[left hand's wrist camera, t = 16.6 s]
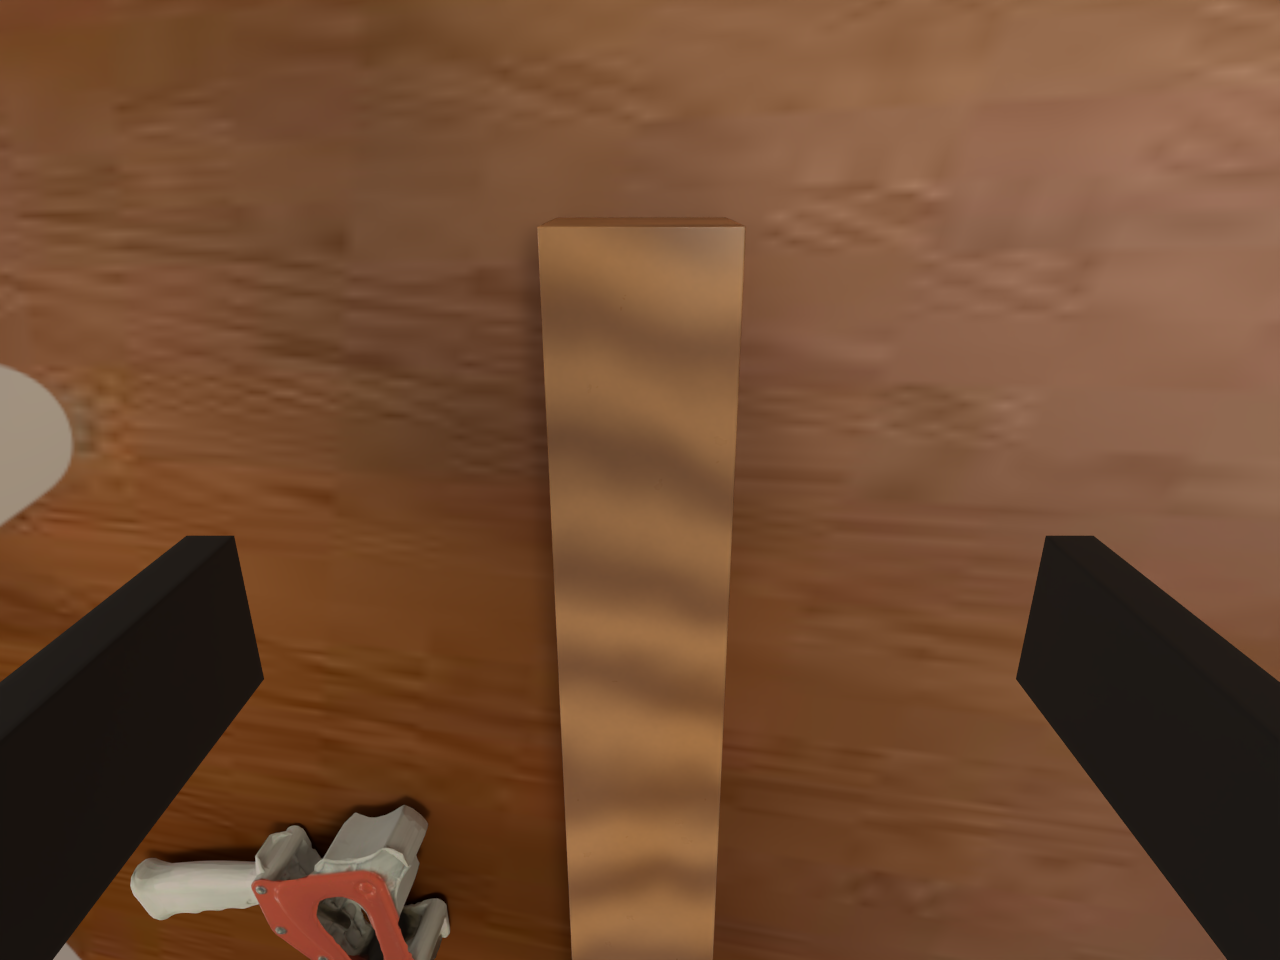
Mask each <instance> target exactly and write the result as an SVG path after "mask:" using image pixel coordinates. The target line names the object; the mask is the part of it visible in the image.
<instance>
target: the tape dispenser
mask: <svg viewBox="0 0 1280 960" xmlns="http://www.w3.org/2000/svg"><path fill="white" fill-rule="evenodd" d="M427 827H428V823H427V821H426V820H425V819H424V818H423V816H422V815H421V814H419V813H418V812H417V811H416V810H414V809H413V808H411V807H409V806H406V805H402V806H401V807H399V808H398V809H396V810H394V811H393V812H391V813H389V814H387V815H384V816H380V817H367V816H364V815H361V814H358V813H354V814H353V815H352V816H351V817H350V818H349V819H348V820H347V821H346V822H345V823H344V824H343V826H342V828H341V829H340V831H339V832H338V834H337V836H336V837H335V839H334V841H333V842H332V844H331V846H330V847H329V849H328V851H327V853H326V854H325V856H324V858H323V859H322V858H321V857H320V856H319V854H318V853H317V851H316V850H315V849H313V848H312V845H311V841H310V840H309V838H308V836H307V834H306V832H305V831H304V829H303V828H301V827H299V826H295V825H294V826H290V827H288V829H287V830H286V831H284V832H277V833H274V834H271V835H269V837H268V838H267V840H266V841H265V843H264V844H263V845H262V847H261V848H260V850H259V851H258V853H257V854H256V856H255V862H249V861H226V860H214V861H192V862H180V863H169V862H165V861H162V860H159V859H157V858H149V859H145V860H144V861H143V862H142V863H140V864H139V865H138V866H137V867H136V869H135V871H134V873H133V875H132V877H131V889H132V892H133V894H134V896H135V897H136V898H137V899H138V900H139V902H140V903H141V904H142V905H143V907H144V908H145V909H146V911H147V912H148V913H149V914H150V915H151V916H152V917H153V918H155V919H158V920H164V919H167V918H169V917H170V916H172V915H174V914H177V913H199V912H202V911H205V910H216V911H219V910H223V909H226V908H242V909H245V908H247V907H250V906H253V905H257V904H259V905H260V907H261V909H262V911H263V913H264V915H265V917H266V919H267V921H268V923H269V925H270V927H271V929H272V930H273V931H274V933H275V934H277V935H278V936H279V937H281V938H282V939H284V940H285V941H286V942H288V943H289V944H290V945H292V946H293V947H294V948H296V949H297V950H299V951H300V952H301V953H303V954H304V955H305V956H307V957H308V958H310V959H311V960H434V959H435V958H436V955H437V952H438V950H439V947H440V943H441V940H442V937H445V938H446V937H447V936H448V935H449V934H450V926H449V919H448V913H447V905H446V904H445V902H444V901H442V900H440V899H438V898H432V899H428V900H424V901H422V902H417V903H416V904H410V905H405V906H404V904H405V902H406V899H407V897H408V895H409V892H410V890H411V887H412V885H413V882H414V880H415V877H416V874H417V870H418V866H419V861H418V859H417V856H416V854H417V852H418V850H419V848H420V845H421V843H422V841H423V839H424V836H425V834H426V831H427ZM361 908H362V909H363V910H364V911H365V912H366V913H367V916H368V918H369V920H370V923H369V922H367V921H366V920H365V918H364V917H363V913H362V912H361Z"/></svg>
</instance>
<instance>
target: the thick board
mask: <svg viewBox="0 0 1280 960" xmlns="http://www.w3.org/2000/svg"><path fill="white" fill-rule="evenodd" d="M537 233H538V254H539V275H540V296H541V317H542V339H543V360H544V381H545V402H546V423H547V444H548V465H549V486H550V507H551V528H552V549H553V570H554V591H555V612H556V633H557V654H558V675H559V696H560V717H561V738H562V759H563V780H564V801H565V822H566V843H567V864H568V885H569V906H570V928H571V949H572V960H713V943H714V921H715V899H716V877H717V855H718V833H719V811H720V788H721V766H722V744H723V722H724V700H725V678H726V655H727V633H728V611H729V589H730V567H731V545H732V523H733V500H734V478H735V456H736V434H737V412H738V390H739V368H740V345H741V323H742V301H743V279H744V257H745V235H746V226H744V225H741V224H739V223H737V222H735V221H732V220H730V219H728V218H556V219H553V220H551V221H549V222H547V223H545V224H543V225H540V226H538V227H537Z"/></svg>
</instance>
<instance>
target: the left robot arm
mask: <svg viewBox="0 0 1280 960" xmlns="http://www.w3.org/2000/svg"><path fill="white" fill-rule="evenodd" d="M263 680H264V677H263V672H262V667H261V662H260V658H259V653H258V648H257V643H256V639H255V634H254V629H253V624H252V619H251V615H250V610H249V605H248V600H247V596H246V591H245V586H244V581H243V576H242V572H241V567H240V562H239V557H238V552H237V548H236V543H235V538H234V536H186V537H185V538H183V539H182V540H181V541H179V542H178V543H177V544H176V545H174V546H173V547H172V548H171V549H169V550H168V551H167V552H165V553H164V554H163V555H162V556H160V557H159V558H158V559H157V560H155V561H154V562H153V563H151V564H150V565H149V566H148V567H146V568H145V569H144V570H143V571H141V572H140V573H139V574H137V575H136V576H135V577H134V578H132V579H131V580H130V581H129V582H127V583H126V584H125V585H123V586H122V587H121V588H120V589H118V590H117V591H116V592H115V593H113V594H112V595H111V596H109V597H108V598H107V599H106V600H104V601H103V602H102V603H101V604H99V605H98V606H97V607H95V608H94V609H93V610H92V611H90V612H89V613H88V614H87V615H85V616H84V617H83V618H81V619H80V620H79V621H78V622H76V623H75V624H74V625H73V626H71V627H70V628H69V629H67V630H66V631H65V632H64V633H62V634H61V635H60V636H59V637H57V638H56V639H55V640H53V641H52V642H51V643H50V644H48V645H47V646H46V647H45V648H43V649H42V650H41V651H39V652H38V653H37V654H36V655H34V656H33V657H32V658H31V659H29V660H28V661H27V662H26V663H24V664H23V665H22V666H20V667H19V668H18V669H17V670H15V671H14V672H13V673H12V674H10V675H9V676H8V677H6V678H5V679H4V680H3V681H1V682H0V960H53V959H54V957H55V956H56V955H57V953H58V952H59V951H60V949H61V948H62V947H63V945H64V944H65V943H66V941H67V940H68V939H69V937H70V936H71V935H72V933H73V932H74V931H75V929H76V928H77V927H78V925H79V924H80V923H81V921H82V920H83V919H84V917H85V916H86V915H87V913H88V912H89V911H90V909H91V908H92V907H93V905H94V904H95V903H96V901H97V900H98V899H99V897H100V896H101V895H102V893H103V892H104V891H105V890H106V888H107V887H108V886H109V884H110V883H111V882H112V880H113V879H114V878H115V876H116V875H117V874H118V872H119V871H120V870H121V868H122V867H123V866H124V864H125V863H126V862H127V860H128V859H129V858H130V856H131V855H132V854H133V852H134V851H135V850H136V848H137V847H138V846H139V844H140V843H141V842H142V840H143V839H144V838H145V836H146V835H147V834H148V832H149V831H150V830H151V828H152V827H153V826H154V824H155V823H156V822H157V820H158V819H159V818H160V816H161V815H162V814H163V812H164V811H165V810H166V808H167V807H168V806H169V804H170V803H171V802H172V800H173V799H174V798H175V797H176V795H177V794H178V793H179V791H180V790H181V789H182V787H183V786H184V785H185V783H186V782H187V781H188V779H189V778H190V777H191V775H192V774H193V773H194V771H195V770H196V769H197V767H198V766H199V765H200V763H201V762H202V761H203V759H204V758H205V757H206V755H207V754H208V753H209V751H210V750H211V749H212V747H213V746H214V745H215V743H216V742H217V741H218V739H219V738H220V737H221V735H222V734H223V733H224V731H225V730H226V729H227V727H228V726H229V725H230V723H231V722H232V721H233V719H234V718H235V717H236V715H237V714H238V713H239V711H240V710H241V709H242V707H243V706H244V705H245V704H246V702H247V701H248V700H249V698H250V697H251V696H252V694H253V693H254V692H255V690H256V689H257V688H258V686H259V685H260V684H261V682H262V681H263ZM1016 680H1017V681H1018V682H1019V684H1020V685H1021V686H1022V688H1023V689H1024V690H1025V692H1026V693H1027V694H1028V696H1029V697H1030V698H1031V700H1032V701H1033V702H1034V704H1035V705H1036V706H1037V708H1038V709H1039V710H1040V711H1041V713H1042V714H1043V715H1044V717H1045V718H1046V719H1047V721H1048V722H1049V723H1050V725H1051V726H1052V727H1053V729H1054V730H1055V731H1056V733H1057V734H1058V735H1059V737H1060V738H1061V739H1062V741H1063V742H1064V743H1065V745H1066V746H1067V747H1068V749H1069V750H1070V751H1071V753H1072V754H1073V755H1074V757H1075V758H1076V759H1077V761H1078V762H1079V763H1080V765H1081V766H1082V767H1083V769H1084V770H1085V771H1086V773H1087V774H1088V775H1089V777H1090V778H1091V779H1092V781H1093V782H1094V783H1095V785H1096V786H1097V787H1098V789H1099V790H1100V791H1101V793H1102V794H1103V795H1104V797H1105V798H1106V799H1107V800H1108V802H1109V803H1110V804H1111V806H1112V807H1113V808H1114V810H1115V811H1116V812H1117V814H1118V815H1119V816H1120V818H1121V819H1122V820H1123V822H1124V823H1125V824H1126V826H1127V827H1128V828H1129V830H1130V831H1131V832H1132V834H1133V835H1134V836H1135V838H1136V839H1137V840H1138V842H1139V843H1140V844H1141V846H1142V847H1143V848H1144V850H1145V851H1146V852H1147V854H1148V855H1149V856H1150V858H1151V859H1152V860H1153V862H1154V863H1155V864H1156V866H1157V867H1158V868H1159V870H1160V871H1161V872H1162V874H1163V875H1164V876H1165V878H1166V879H1167V880H1168V882H1169V883H1170V884H1171V886H1172V887H1173V888H1174V890H1175V891H1176V892H1177V893H1178V895H1179V896H1180V897H1181V899H1182V900H1183V901H1184V903H1185V904H1186V905H1187V907H1188V908H1189V909H1190V911H1191V912H1192V913H1193V915H1194V916H1195V917H1196V919H1197V920H1198V921H1199V923H1200V924H1201V925H1202V927H1203V928H1204V929H1205V931H1206V932H1207V933H1208V935H1209V936H1210V937H1211V939H1212V940H1213V941H1214V943H1215V944H1216V945H1217V947H1218V948H1219V949H1220V951H1221V952H1222V953H1223V955H1224V956H1225V957H1226V959H1227V960H1280V682H1279V681H1277V680H1276V679H1275V678H1274V677H1272V676H1271V675H1270V674H1268V673H1267V672H1266V671H1265V670H1263V669H1262V668H1261V667H1260V666H1258V665H1257V664H1256V663H1254V662H1253V661H1252V660H1251V659H1249V658H1248V657H1247V656H1246V655H1244V654H1243V653H1242V652H1241V651H1239V650H1238V649H1237V648H1235V647H1234V646H1233V645H1232V644H1230V643H1229V642H1228V641H1227V640H1225V639H1224V638H1223V637H1221V636H1220V635H1219V634H1218V633H1216V632H1215V631H1214V630H1213V629H1211V628H1210V627H1209V626H1207V625H1206V624H1205V623H1204V622H1202V621H1201V620H1200V619H1199V618H1197V617H1196V616H1195V615H1193V614H1192V613H1191V612H1190V611H1188V610H1187V609H1186V608H1185V607H1183V606H1182V605H1181V604H1179V603H1178V602H1177V601H1176V600H1174V599H1173V598H1172V597H1171V596H1169V595H1168V594H1167V593H1165V592H1164V591H1163V590H1162V589H1160V588H1159V587H1158V586H1157V585H1155V584H1154V583H1153V582H1151V581H1150V580H1149V579H1148V578H1146V577H1145V576H1144V575H1143V574H1141V573H1140V572H1139V571H1137V570H1136V569H1135V568H1134V567H1132V566H1131V565H1130V564H1129V563H1127V562H1126V561H1125V560H1123V559H1122V558H1121V557H1120V556H1118V555H1117V554H1116V553H1115V552H1113V551H1112V550H1111V549H1109V548H1108V547H1107V546H1106V545H1104V544H1103V543H1102V542H1101V541H1099V540H1098V539H1097V538H1095V537H1094V536H1046V538H1045V543H1044V548H1043V552H1042V557H1041V562H1040V567H1039V572H1038V576H1037V581H1036V586H1035V591H1034V596H1033V600H1032V605H1031V610H1030V615H1029V619H1028V624H1027V629H1026V634H1025V639H1024V643H1023V648H1022V653H1021V658H1020V662H1019V667H1018V672H1017V677H1016Z"/></svg>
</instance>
